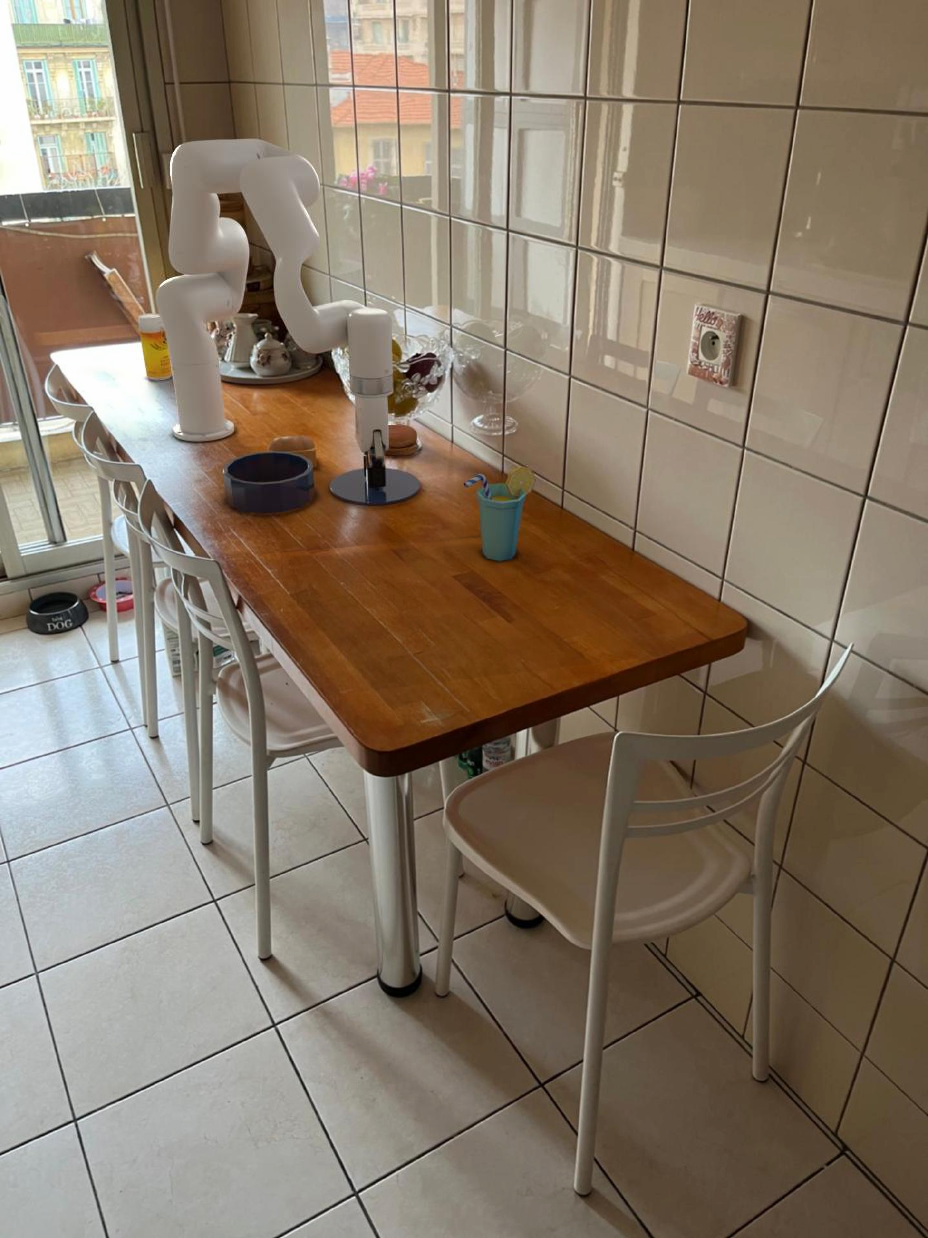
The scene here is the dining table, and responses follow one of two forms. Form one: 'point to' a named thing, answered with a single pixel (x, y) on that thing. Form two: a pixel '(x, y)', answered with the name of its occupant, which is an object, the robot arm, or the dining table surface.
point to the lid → (358, 492)
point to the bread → (295, 446)
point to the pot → (269, 496)
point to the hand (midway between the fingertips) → (374, 480)
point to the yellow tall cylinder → (154, 346)
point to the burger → (401, 440)
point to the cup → (502, 512)
